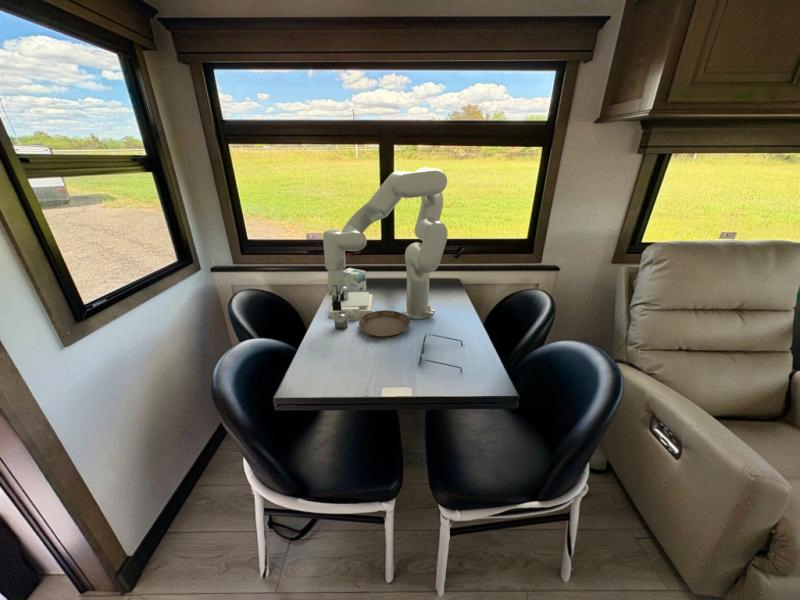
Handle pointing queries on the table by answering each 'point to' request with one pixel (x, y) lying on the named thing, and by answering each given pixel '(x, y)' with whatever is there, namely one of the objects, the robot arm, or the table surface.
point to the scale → (355, 305)
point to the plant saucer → (384, 324)
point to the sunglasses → (438, 362)
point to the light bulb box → (355, 280)
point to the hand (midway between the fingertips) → (338, 305)
